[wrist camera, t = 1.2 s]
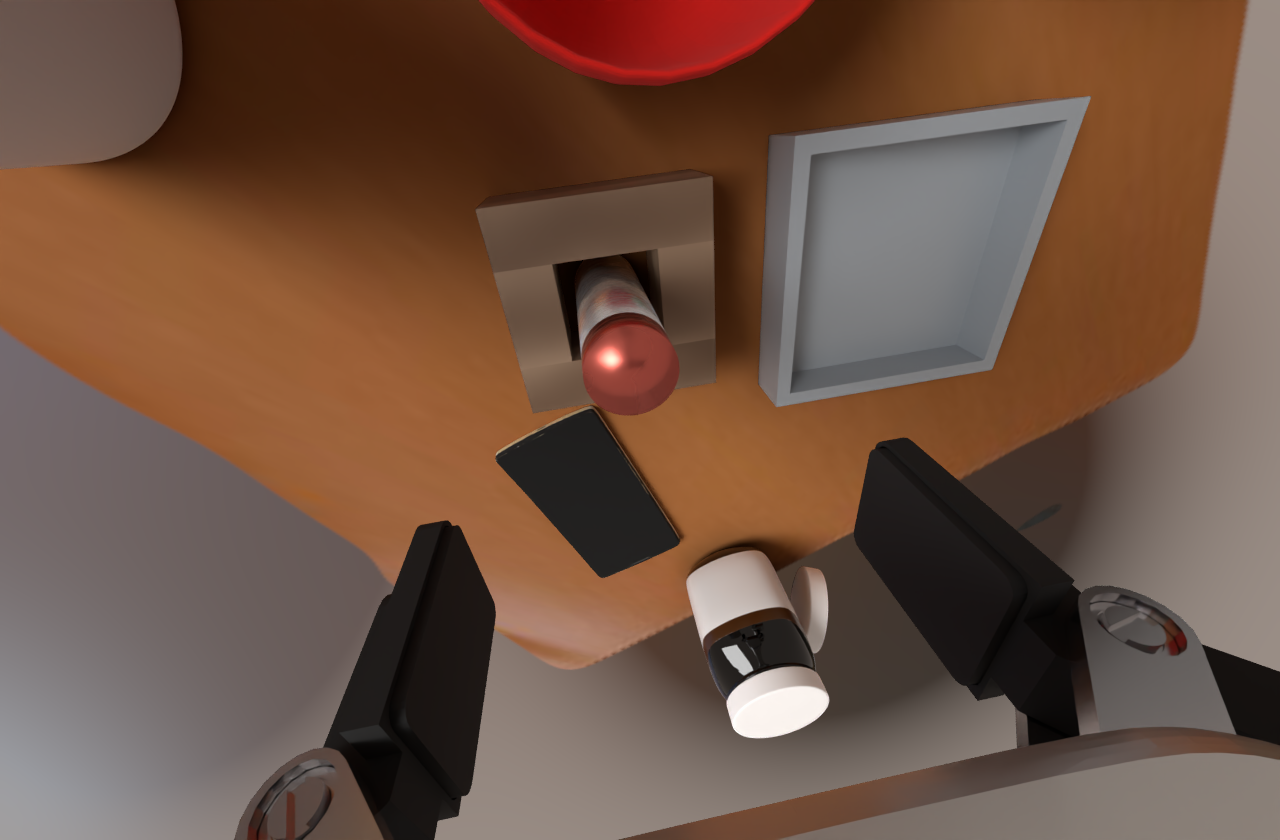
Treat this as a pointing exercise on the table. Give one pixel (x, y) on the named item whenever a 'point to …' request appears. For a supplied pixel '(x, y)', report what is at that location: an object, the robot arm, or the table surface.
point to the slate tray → (903, 244)
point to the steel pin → (621, 339)
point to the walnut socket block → (597, 227)
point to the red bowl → (646, 34)
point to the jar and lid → (761, 639)
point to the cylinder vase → (84, 78)
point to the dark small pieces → (590, 491)
